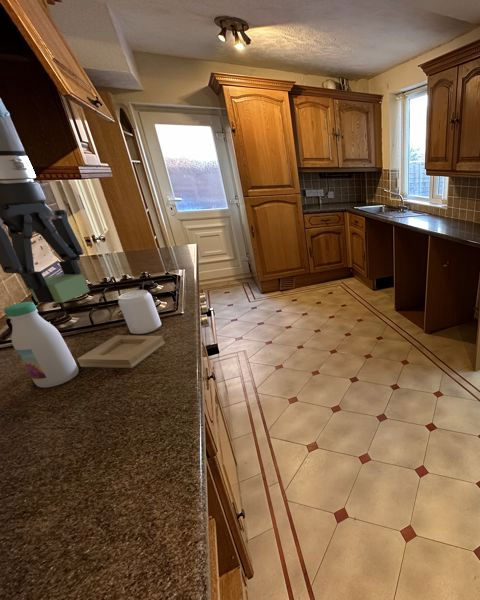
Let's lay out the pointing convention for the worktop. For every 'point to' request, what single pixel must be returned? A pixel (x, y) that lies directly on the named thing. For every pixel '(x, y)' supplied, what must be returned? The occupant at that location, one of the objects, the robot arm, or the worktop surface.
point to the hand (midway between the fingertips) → (63, 295)
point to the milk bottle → (40, 346)
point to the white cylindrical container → (139, 311)
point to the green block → (65, 287)
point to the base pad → (121, 351)
